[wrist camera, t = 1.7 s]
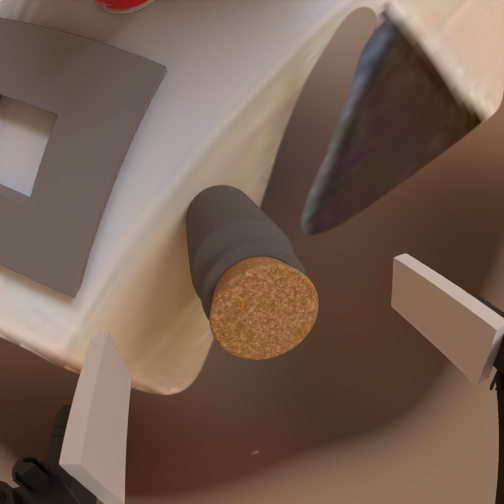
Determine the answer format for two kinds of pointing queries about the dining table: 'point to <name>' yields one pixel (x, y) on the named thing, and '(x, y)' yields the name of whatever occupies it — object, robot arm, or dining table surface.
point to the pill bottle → (122, 5)
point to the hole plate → (68, 144)
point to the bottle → (247, 276)
